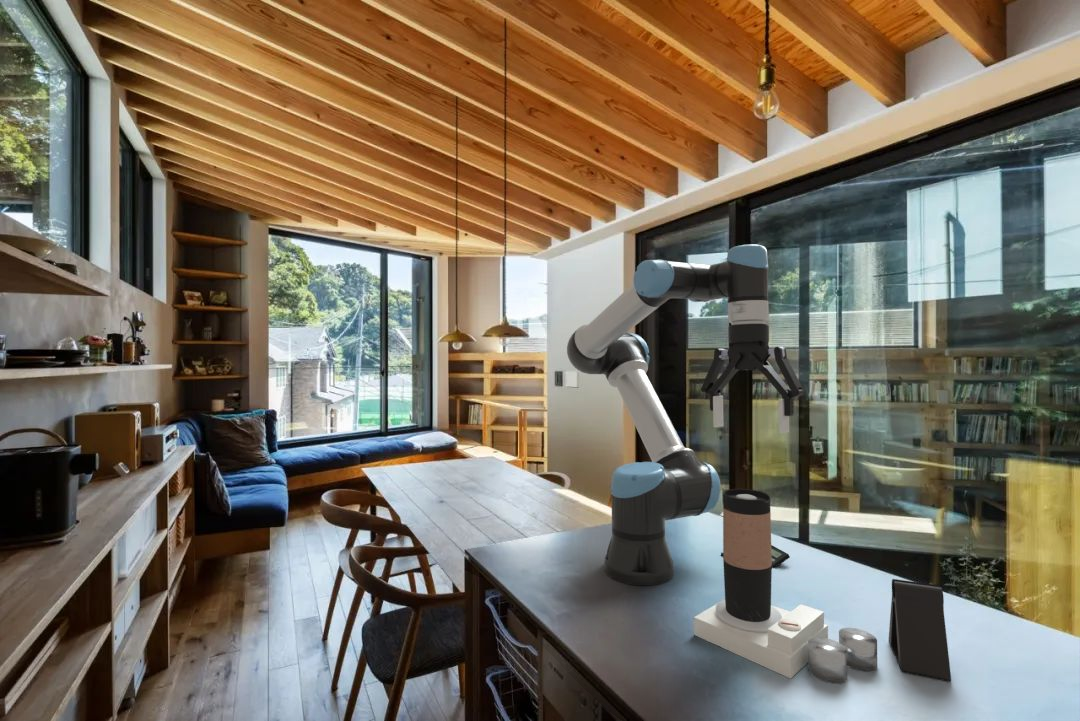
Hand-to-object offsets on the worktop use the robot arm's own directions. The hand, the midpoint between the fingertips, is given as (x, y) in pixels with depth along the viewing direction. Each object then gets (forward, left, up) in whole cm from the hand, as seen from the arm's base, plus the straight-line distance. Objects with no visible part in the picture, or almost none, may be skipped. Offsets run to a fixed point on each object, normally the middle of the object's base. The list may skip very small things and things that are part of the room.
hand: (749, 430), depth 102 cm
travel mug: (+7, -15, -29) cm, 33 cm away
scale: (+9, -15, -33) cm, 37 cm away
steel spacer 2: (+22, -10, -33) cm, 41 cm away
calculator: (-8, +17, -33) cm, 38 cm away
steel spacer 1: (+20, -17, -33) cm, 42 cm away
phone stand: (+28, -3, -33) cm, 43 cm away
